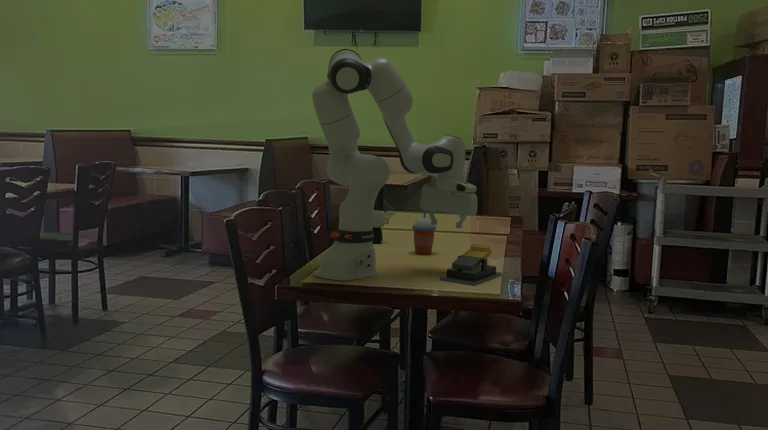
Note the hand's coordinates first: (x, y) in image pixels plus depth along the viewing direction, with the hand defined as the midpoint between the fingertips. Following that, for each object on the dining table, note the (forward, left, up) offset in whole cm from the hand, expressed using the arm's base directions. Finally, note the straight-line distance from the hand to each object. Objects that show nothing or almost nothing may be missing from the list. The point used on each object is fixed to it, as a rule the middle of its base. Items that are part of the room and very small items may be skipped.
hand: (446, 226), depth 235 cm
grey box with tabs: (-4, -13, -15) cm, 20 cm away
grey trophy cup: (+32, +50, -15) cm, 61 cm away
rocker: (-4, -13, -10) cm, 16 cm away
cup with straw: (+24, +22, -15) cm, 36 cm away
